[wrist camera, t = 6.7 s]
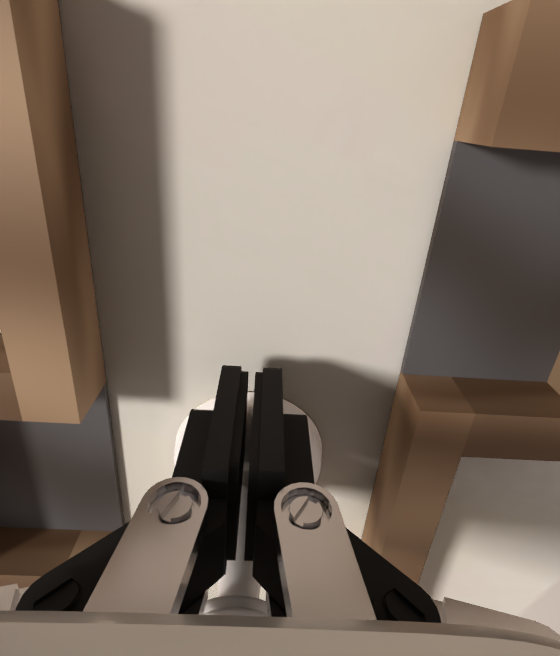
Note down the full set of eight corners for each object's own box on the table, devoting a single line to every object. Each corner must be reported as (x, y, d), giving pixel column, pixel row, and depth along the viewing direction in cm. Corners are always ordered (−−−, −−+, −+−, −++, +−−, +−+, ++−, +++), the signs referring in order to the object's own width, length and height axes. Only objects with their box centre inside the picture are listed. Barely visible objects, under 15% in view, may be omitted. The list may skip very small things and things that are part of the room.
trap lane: (-254, -56, 9) (-492, -130, 6) (750, 38, 10) (936, 10, 7) (2, 637, 19) (-41, 721, 17) (464, 650, 20) (492, 732, 18)
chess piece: (349, 426, 14) (475, 958, 5) (279, 519, 16) (285, 1024, 7) (211, 367, 13) (78, 911, 4) (154, 474, 15) (-20, 1003, 6)
